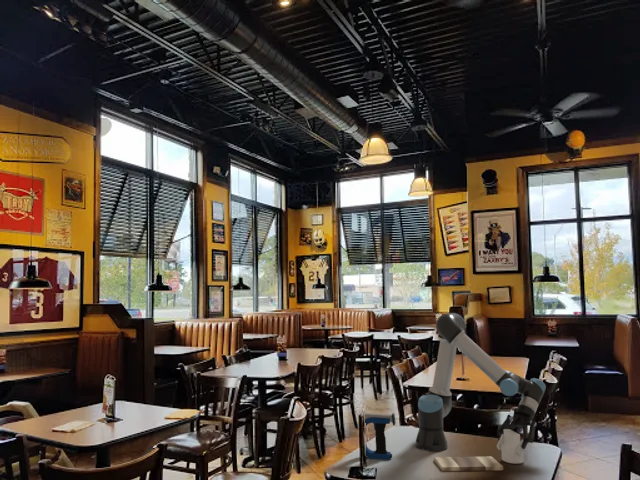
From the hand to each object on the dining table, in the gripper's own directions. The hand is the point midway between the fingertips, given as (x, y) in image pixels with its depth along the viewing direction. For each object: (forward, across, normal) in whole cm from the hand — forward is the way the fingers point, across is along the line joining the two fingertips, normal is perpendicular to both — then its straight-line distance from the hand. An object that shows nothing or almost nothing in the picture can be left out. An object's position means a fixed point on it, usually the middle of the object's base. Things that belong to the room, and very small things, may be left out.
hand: (508, 451), depth 219 cm
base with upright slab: (+1, 0, -6) cm, 6 cm away
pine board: (+16, +9, +8) cm, 20 cm away
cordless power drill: (+33, +39, +25) cm, 57 cm away
